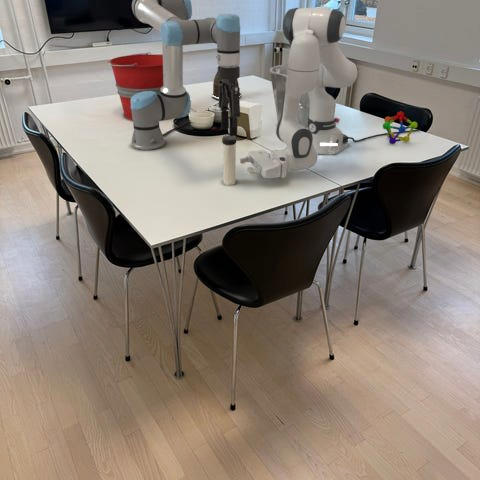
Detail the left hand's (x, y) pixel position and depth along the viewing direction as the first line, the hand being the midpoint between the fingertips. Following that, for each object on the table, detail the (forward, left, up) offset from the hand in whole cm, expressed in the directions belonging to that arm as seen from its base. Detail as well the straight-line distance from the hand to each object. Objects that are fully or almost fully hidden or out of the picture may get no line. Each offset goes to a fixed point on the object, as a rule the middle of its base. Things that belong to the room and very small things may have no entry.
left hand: (229, 131), depth 161 cm
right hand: (-2, +5, -14) cm, 15 cm away
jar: (0, 0, -20) cm, 20 cm away
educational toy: (-54, +72, -20) cm, 93 cm away
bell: (-128, -20, -20) cm, 131 cm away
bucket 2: (-76, +24, -20) cm, 82 cm away
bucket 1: (-84, -59, -20) cm, 104 cm away
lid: (0, 0, -3) cm, 3 cm away
